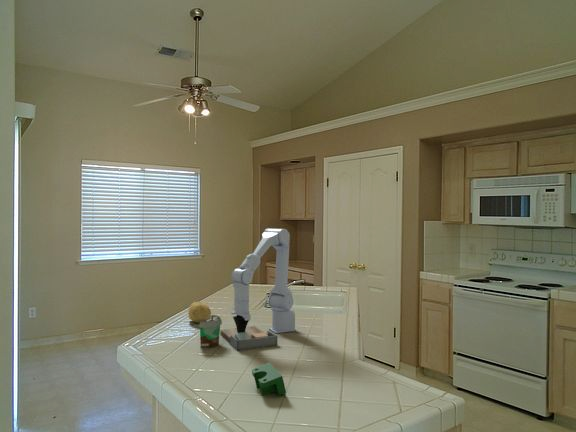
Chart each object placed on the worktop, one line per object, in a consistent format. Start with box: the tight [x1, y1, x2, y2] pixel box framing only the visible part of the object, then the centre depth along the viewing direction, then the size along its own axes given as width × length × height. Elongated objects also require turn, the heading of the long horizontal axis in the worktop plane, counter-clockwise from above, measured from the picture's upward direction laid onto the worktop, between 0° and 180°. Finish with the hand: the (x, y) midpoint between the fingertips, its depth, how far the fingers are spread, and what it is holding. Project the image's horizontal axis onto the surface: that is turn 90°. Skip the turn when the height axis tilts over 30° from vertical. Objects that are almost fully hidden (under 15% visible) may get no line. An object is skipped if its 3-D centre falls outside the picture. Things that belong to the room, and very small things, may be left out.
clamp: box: [251, 362, 287, 397], centre depth 119 cm, size 12×6×9 cm, turn 14°
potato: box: [188, 301, 212, 324], centre depth 194 cm, size 10×14×10 cm
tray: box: [229, 330, 278, 351], centre depth 161 cm, size 16×8×4 cm, turn 116°
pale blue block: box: [235, 332, 252, 340], centre depth 160 cm, size 5×5×2 cm
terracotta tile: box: [251, 332, 268, 339], centre depth 164 cm, size 5×5×2 cm
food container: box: [198, 314, 223, 349], centre depth 160 cm, size 12×6×10 cm, turn 168°
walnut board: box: [219, 325, 267, 344], centre depth 171 cm, size 15×14×2 cm
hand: (241, 335), depth 163 cm, fingers closed
